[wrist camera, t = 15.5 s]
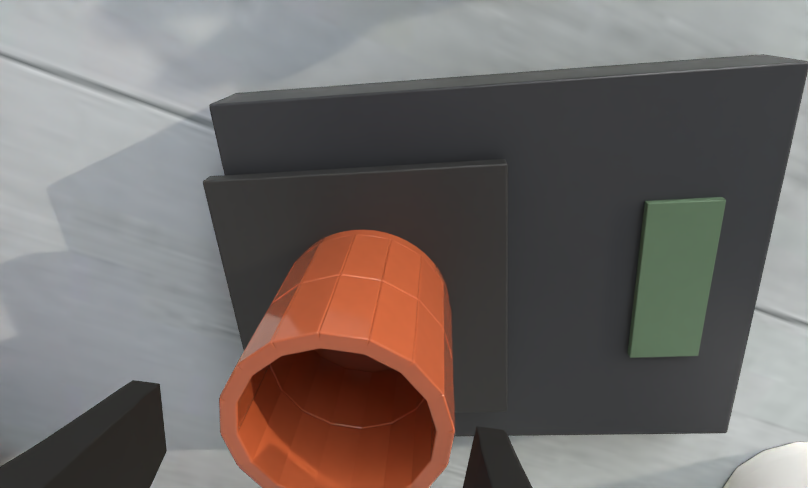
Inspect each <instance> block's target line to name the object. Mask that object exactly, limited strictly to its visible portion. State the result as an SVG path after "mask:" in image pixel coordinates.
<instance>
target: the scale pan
mask: <svg viewBox="0 0 808 488" xmlns="http://www.w3.org/2000/svg"><path fill="white" fill-rule="evenodd" d="M203 185H204V189H205V194H206V198H207V202H208V206H209V210H210V214H211V218H212V222H213V226H214V230H215V235H216V239H217V243H218V247H219V251H220V255H221V259H222V263H223V267H224V271H225V275H226V280H227V284H228V288H229V292H230V296H231V300H232V304H233V308H234V312H235V316H236V321H237V325H238V329H239V333H240V337H241V341H242V345H243V349H244V350H245V349H246V347H247V345H248V343H249V342H250V340H251V338H252V336H253V335H254V333H255V331H256V329H257V328H258V326H259V324H260V322H261V321H262V319H263V317H264V315H265V314H266V312H267V310H268V308H269V307H270V305H271V303H272V301H273V300H274V298H275V296H276V294H277V293H278V291H279V289H280V287H281V285H282V284H283V282H284V280H285V278H286V277H287V275H288V273H289V271H290V270H291V268H292V266H293V264H294V263H295V262H296V260H297V259H298V258H299V257H300V256H301V255H302V253H303V252H304V251H305V250H307V249H308V248H309V247H310V246H311V245H313V244H314V243H316V242H318V241H319V240H321V239H323V238H325V237H327V236H330V235H333V234H336V233H339V232H344V231H350V230H375V231H380V232H385V233H389V234H392V235H395V236H397V237H400V238H402V239H404V240H406V241H408V242H410V243H411V244H413V245H414V246H416V247H417V248H419V249H420V250H421V251H422V252H424V253H425V254H426V255H427V256H428V257H429V258H430V259H431V260H432V261H433V263H434V264H435V265H436V267H437V268H438V270H439V271H440V273H441V275H442V277H443V279H444V281H445V284H446V287H447V290H448V295H449V304H450V307H451V321H452V352H453V384H454V412H506V411H507V225H508V165H507V163H506V160H505V159H495V160H478V161H461V162H444V163H427V164H410V165H393V166H376V167H359V168H342V169H326V170H309V171H292V172H275V173H258V174H241V175H224V176H210V177H208V178H207V179H206V180H204V181H203Z"/></svg>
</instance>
